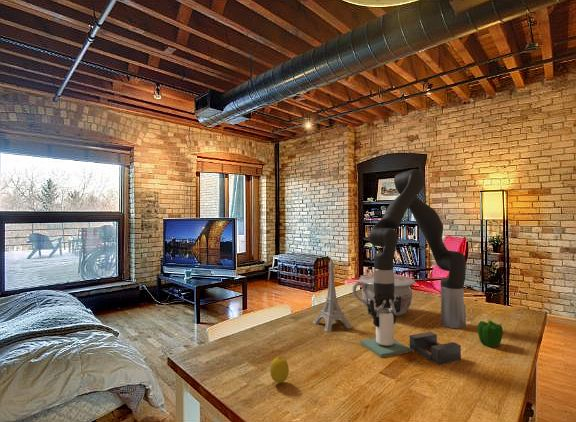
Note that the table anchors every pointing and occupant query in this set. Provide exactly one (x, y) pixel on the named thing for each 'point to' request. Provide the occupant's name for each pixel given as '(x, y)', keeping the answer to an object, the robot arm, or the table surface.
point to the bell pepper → (490, 333)
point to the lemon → (279, 369)
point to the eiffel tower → (331, 305)
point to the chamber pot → (400, 287)
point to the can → (385, 328)
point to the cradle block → (435, 348)
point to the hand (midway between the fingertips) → (384, 324)
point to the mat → (385, 348)
